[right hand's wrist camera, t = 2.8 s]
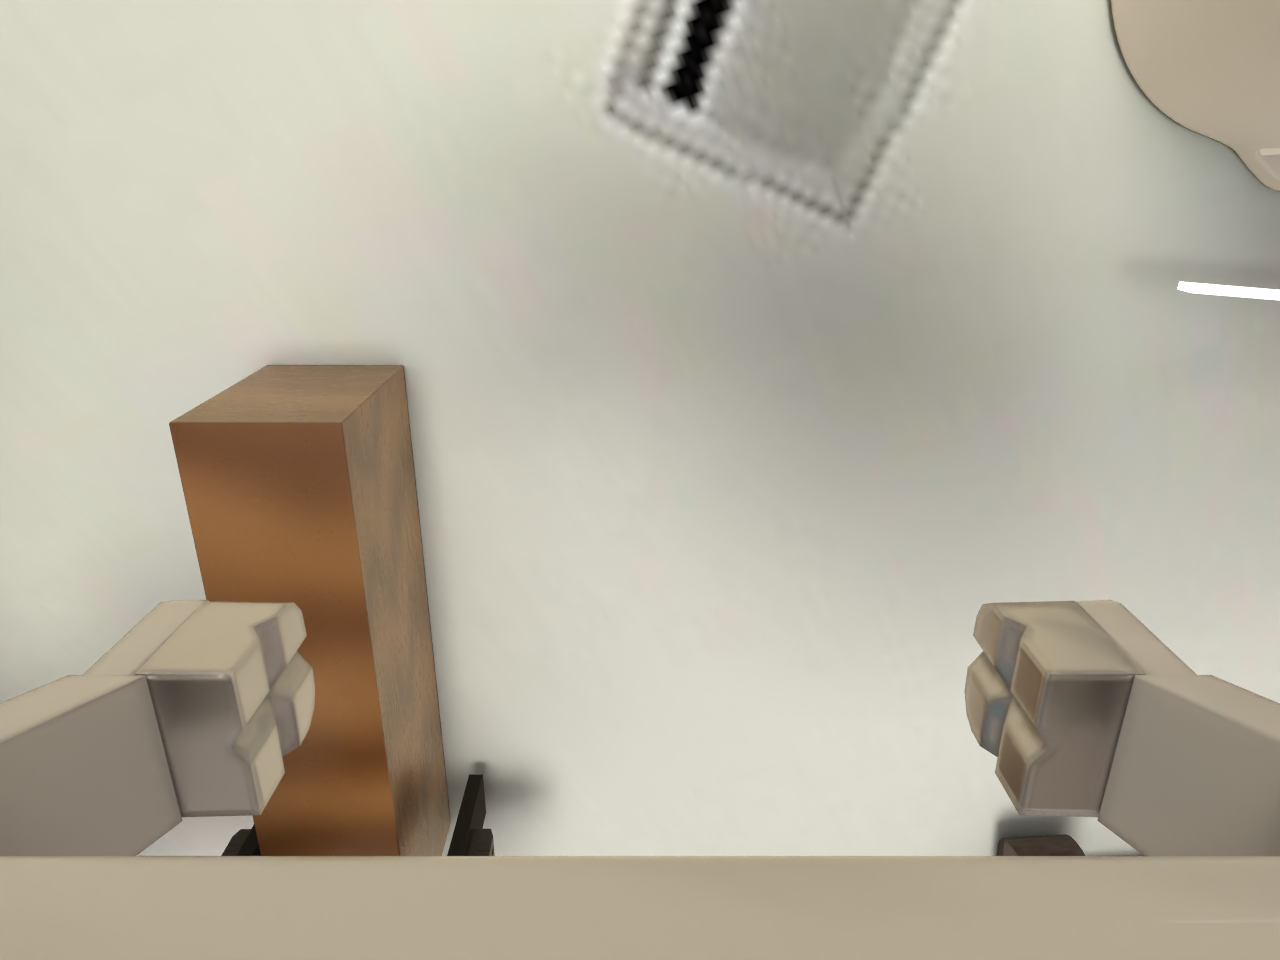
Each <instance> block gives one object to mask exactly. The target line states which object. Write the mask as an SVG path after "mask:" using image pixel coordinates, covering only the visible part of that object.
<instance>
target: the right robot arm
mask: <svg viewBox="0 0 1280 960" xmlns="http://www.w3.org/2000/svg"><path fill="white" fill-rule="evenodd" d="M1111 6H1112V15H1113V21H1114V27H1115V31H1116V35H1117V40H1118V43H1119V46H1120V49H1121V52H1122V55H1123V57H1124V60H1125V62H1126V64H1127V66H1128V68H1129V70H1130V72H1131V74H1132V76H1133V77H1134V79H1135V81H1136V82H1137V84H1138V86H1139V87H1140V88H1141V90H1142V91H1143V92H1144V94H1145V95H1146V96H1147V97H1148V98H1149V99H1150V101H1151V102H1152V103H1153V104H1154V105H1155V106H1156V107H1157V108H1159V109H1160V110H1161V111H1162V112H1163V113H1164V114H1166V115H1167V116H1168V117H1170V118H1171V119H1172V120H1174V121H1175V122H1177V123H1179V124H1180V125H1182V126H1184V127H1186V128H1188V129H1190V130H1192V131H1194V132H1197V133H1199V134H1202V135H1204V136H1207V137H1209V138H1212V139H1214V140H1217V141H1219V142H1221V143H1223V144H1225V145H1227V146H1229V147H1230V148H1232V149H1233V150H1235V151H1236V153H1237V154H1238V155H1239V157H1240V158H1241V159H1242V161H1243V162H1244V163H1245V164H1246V166H1247V167H1248V168H1249V169H1250V171H1251V172H1252V173H1253V174H1254V175H1255V176H1256V177H1257V179H1258V180H1259V181H1261V182H1262V183H1263V184H1264V185H1265V186H1267V187H1269V188H1270V189H1273V190H1277V191H1280V0H1111ZM1177 289H1178V290H1182V291H1186V292H1190V293H1198V294H1210V295H1222V296H1234V297H1246V298H1258V299H1270V300H1280V290H1275V289H1263V288H1251V287H1239V286H1227V285H1215V284H1202V283H1190V282H1179V285H1178V288H1177ZM306 636H307V634H306V629H305V624H304V620H303V615H302V611H301V610H300V609H299V607H298V606H297V605H296V604H295V603H294V602H242V601H211V602H210V601H208V600H190V601H168V602H160V603H159V604H158V605H157V606H156V607H155V608H154V609H153V610H152V611H151V612H150V613H149V614H148V615H147V616H145V617H144V618H143V619H142V620H141V621H140V622H139V623H138V624H137V625H136V626H135V627H134V628H133V629H132V630H130V631H129V632H128V633H127V634H126V635H125V636H124V637H123V638H122V639H121V640H120V641H119V642H118V643H117V644H116V645H114V646H113V647H112V648H111V649H110V650H109V651H108V652H107V653H106V654H105V655H104V656H103V657H102V658H101V659H99V660H98V661H97V662H96V663H95V664H94V665H93V666H92V667H91V668H90V669H89V670H88V671H87V672H86V673H85V674H83V675H68V676H66V677H63V678H61V679H58V680H56V681H54V682H51V683H49V684H46V685H44V686H42V687H39V688H37V689H34V690H32V691H30V692H27V693H25V694H22V695H20V696H18V697H15V698H13V699H10V700H8V701H6V702H3V703H1V704H0V960H1280V704H1279V703H1277V702H1274V701H1272V700H1270V699H1267V698H1265V697H1262V696H1260V695H1258V694H1255V693H1253V692H1250V691H1248V690H1245V689H1243V688H1241V687H1238V686H1236V685H1233V684H1231V683H1229V682H1226V681H1224V680H1221V679H1219V678H1217V677H1214V676H1212V675H1197V674H1196V673H1194V672H1193V671H1192V670H1191V669H1190V668H1189V667H1188V666H1187V665H1186V664H1185V663H1184V662H1183V661H1182V660H1181V659H1180V658H1178V657H1177V656H1176V655H1175V654H1174V653H1173V652H1172V651H1171V650H1170V649H1169V648H1168V647H1167V646H1166V645H1165V644H1164V643H1162V642H1161V641H1160V640H1159V639H1158V638H1157V637H1156V636H1155V635H1154V634H1153V633H1152V632H1151V631H1150V630H1149V629H1148V628H1147V627H1145V626H1144V625H1143V624H1142V623H1141V622H1140V621H1139V620H1138V619H1137V618H1136V617H1135V616H1134V615H1133V614H1132V613H1131V612H1129V611H1128V610H1127V609H1126V608H1125V607H1124V606H1123V605H1122V604H1121V603H1118V602H1115V601H1112V600H1095V601H1053V602H1011V603H989V604H982V606H981V609H980V611H979V613H978V615H977V618H976V623H975V628H974V634H973V636H974V637H975V639H976V640H977V642H978V643H979V645H980V647H981V648H982V650H983V652H982V653H981V654H980V655H979V656H978V657H977V658H976V660H975V661H974V662H973V663H972V664H971V665H970V666H969V667H968V670H967V678H966V685H965V701H966V712H967V717H968V720H969V723H970V727H971V730H972V732H973V734H974V736H975V738H976V740H977V741H978V743H979V745H980V746H981V747H982V748H984V749H986V750H987V751H989V752H990V753H992V754H994V755H995V756H997V757H998V759H997V764H996V770H995V773H996V775H997V777H998V779H999V780H1000V782H1001V784H1002V786H1003V787H1004V789H1005V791H1006V792H1007V794H1008V796H1009V798H1010V799H1011V801H1012V803H1013V805H1014V806H1015V808H1016V810H1017V811H1018V813H1019V815H1038V816H1075V817H1098V821H1099V822H1100V823H1102V824H1103V825H1104V826H1106V827H1107V828H1108V829H1109V830H1111V831H1112V832H1113V833H1115V834H1116V835H1117V836H1119V837H1120V838H1121V839H1123V840H1124V841H1125V842H1127V843H1128V844H1129V845H1131V846H1132V847H1133V848H1135V849H1136V850H1137V851H1139V852H1140V853H1141V854H1142V855H1144V856H136V855H138V854H139V853H140V852H142V851H143V850H144V849H146V848H147V847H148V846H150V845H151V844H152V843H154V842H155V841H156V840H158V839H159V838H160V837H162V836H163V835H164V834H166V833H167V832H168V831H170V830H171V829H172V828H173V827H175V826H176V825H177V824H179V823H180V822H181V821H182V817H204V816H240V815H261V813H262V812H263V810H264V808H265V806H266V805H267V803H268V801H269V799H270V798H271V796H272V794H273V793H274V791H275V789H276V787H277V786H278V784H279V782H280V780H281V779H282V777H283V775H284V773H285V770H284V764H283V759H282V757H283V756H285V755H286V754H288V753H290V752H291V751H293V750H294V749H296V748H298V747H299V746H300V745H301V743H302V741H303V739H304V738H305V736H306V734H307V732H308V730H309V728H310V723H311V719H312V715H313V711H314V706H315V683H314V676H313V670H312V667H311V666H310V665H309V664H308V663H307V662H306V661H305V660H304V659H303V657H302V656H301V655H300V654H299V653H298V652H297V650H298V648H299V647H300V645H301V643H302V642H303V640H304V639H305V637H306Z"/></svg>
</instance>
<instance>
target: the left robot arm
mask: <svg viewBox="0 0 1280 960" xmlns="http://www.w3.org/2000/svg"><path fill="white" fill-rule="evenodd" d="M485 814H486V808H485V796H484V784H483V775H469V778H468V781H467V785H466V789H465V792H464V796H463V800H462V804H461V807H460V811H459V815H458V818H457V822H456V826H455V829H454V833H453V837H452V840H451V844H450V848H449V852H448V855H447V856H495V855H494V843H493V835H492V831H491V829H482V828H483V823H484V819H485ZM222 856H261V853H260V848H259V843H258V839H257V834H256V829H255V825H253V827H252V829H241V830H239V831H238V832H237V833H236V834H235V835H234V836H233V837H232V839H231V840H230V842H229V844H228V846H227V847H226V849H225V850H224V852H223V854H222Z"/></svg>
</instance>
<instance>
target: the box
mask: <svg viewBox="0 0 1280 960" xmlns="http://www.w3.org/2000/svg"><path fill="white" fill-rule="evenodd" d="M169 426H170V430H171V435H172V440H173V444H174V449H175V454H176V458H177V463H178V468H179V472H180V477H181V482H182V487H183V491H184V496H185V501H186V505H187V510H188V515H189V519H190V524H191V529H192V534H193V538H194V543H195V548H196V552H197V557H198V562H199V566H200V571H201V576H202V580H203V585H204V590H205V595H206V599H207V600H208V601H210V602H211V601H242V602H294V603H295V604H296V605H297V606H298V607H299V609H300V610H301V611H302V615H303V620H304V624H305V629H306V634H307V636H306V637H305V639H304V640H303V642H302V643H301V645H300V647H299V648H298V650H297V652H298V653H299V654H300V655H301V656H302V657H303V659H304V660H305V661H306V662H307V663H308V664H309V665H310V666H311V667H312V670H313V676H314V683H315V706H314V711H313V715H312V719H311V723H310V728H309V730H308V732H307V734H306V736H305V738H304V739H303V741H302V743H301V745H300V746H299V747H298V748H296V749H294V750H293V751H291V752H290V753H288V754H286V755H285V756H283V757H282V759H283V764H284V770H285V773H284V775H283V777H282V779H281V780H280V782H279V784H278V786H277V787H276V789H275V791H274V793H273V794H272V796H271V798H270V799H269V801H268V803H267V805H266V806H265V808H264V810H263V812H262V813H261V815H253V820H254V825H255V829H256V834H257V839H258V843H259V848H260V853H261V856H442V852H443V849H444V845H445V842H446V838H447V834H448V831H449V827H450V824H451V822H450V813H449V803H448V793H447V784H446V774H445V764H444V755H443V745H442V735H441V726H440V716H439V706H438V697H437V687H436V677H435V668H434V658H433V648H432V639H431V629H430V619H429V610H428V600H427V590H426V581H425V571H424V561H423V552H422V542H421V532H420V523H419V513H418V503H417V494H416V484H415V474H414V465H413V455H412V445H411V436H410V426H409V416H408V407H407V397H406V387H405V378H404V368H403V366H292V365H267V366H265V367H264V368H262V369H260V370H258V371H257V372H255V373H253V374H252V375H250V376H248V377H247V378H245V379H243V380H241V381H240V382H238V383H236V384H235V385H233V386H231V387H229V388H228V389H226V390H224V391H223V392H221V393H219V394H218V395H216V396H214V397H212V398H211V399H209V400H207V401H206V402H204V403H202V404H200V405H199V406H197V407H195V408H194V409H192V410H190V411H189V412H187V413H185V414H183V415H182V416H180V417H178V418H177V419H175V420H173V421H172V422H170V423H169Z"/></svg>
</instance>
